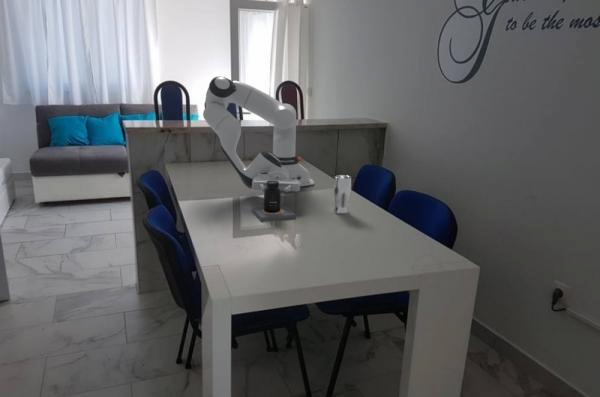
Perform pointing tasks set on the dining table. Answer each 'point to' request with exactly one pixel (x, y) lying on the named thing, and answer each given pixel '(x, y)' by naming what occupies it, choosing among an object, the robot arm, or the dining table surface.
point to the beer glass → (342, 193)
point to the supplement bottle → (272, 197)
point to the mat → (282, 214)
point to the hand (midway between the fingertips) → (274, 189)
